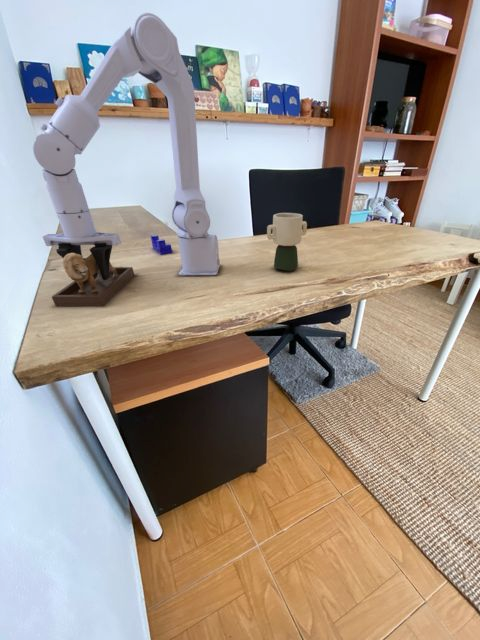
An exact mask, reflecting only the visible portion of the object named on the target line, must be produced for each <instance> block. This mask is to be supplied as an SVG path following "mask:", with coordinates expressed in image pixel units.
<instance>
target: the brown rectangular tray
mask: <svg viewBox="0 0 480 640" xmlns="http://www.w3.org/2000/svg"><path fill="white" fill-rule="evenodd" d="M113 267H114V268H115V269H116V272H117V274H118V278H113V275H114V273H110V277H109V278H108V279H107V280H103V279H102V277H101V281H98V282H96V281H95V279H96V278H97V277H98V273H95V274H94V275H93V277H94V282H95V285H96V287H97V290H98V292H96V293H92V291H91V285H90V283H89V281H88V280H86V281H84V282H83V285H84V286H85V292H84V293H79V290H80V287H79V285H78V283H77V282H76V281H74V280H72V282H70V283H69V284H67V285H66V286H65V287H63V288H62V289H60V290H59V291H57V292H56V293H55V294H53V295H51V299H52V301H53V304H54V306H55V307H104V306H105V305H106V304H107V303H108V302H110V300H111V299H112V298H113V297H114V296H115V295H116V294H117V293H118V292H119V291H120V290H121V289H122V288H123V287H124V286H125V285H126V284H127V283H128V282H129V281H130V280H131V279H132V278H133V277H135V273H134V267H133V266H113ZM109 271H110V270H109Z"/></svg>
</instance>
